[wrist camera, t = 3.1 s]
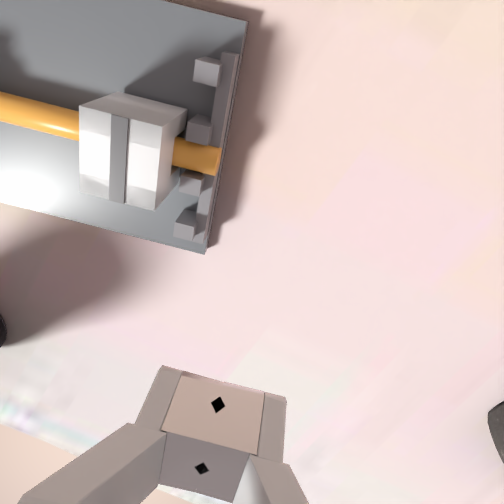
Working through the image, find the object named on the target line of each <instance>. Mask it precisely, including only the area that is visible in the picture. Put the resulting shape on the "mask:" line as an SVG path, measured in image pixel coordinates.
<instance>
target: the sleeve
mask: <svg viewBox="0 0 504 504" xmlns="http://www.w3.org/2000/svg"><path fill="white" fill-rule="evenodd" d="M187 111H188V109H185V108H181V107H177V106H173V105H169V104H165V103H162V102H158V101H154V100H150V99H146V98H142V97H138V96H134V95H130V94H126V93H122V92H115V93H112V94H110V95H107V96H104V97H101V98H99V99H96V100H93V101H90V102H87V103H85V104H82V105H79V163H80V192H82V193H86V194H90V195H93V196H97V197H101V198H105V199H109V201H113V202H117V203H121V204H124V203H125V204H128V205H132V206H136V207H140V208H144V209H148V210H152V211H155V210H156V208H157V207H158V206H159V205H160V204H161V203H162V201H163V200H164V199H165V198H166V197H167V195H168V194H169V193H170V192H171V191H172V190H173V188H174V187H175V186H176V185H177V184H178V182H179V175H180V167H177V166H173V165H172V157H173V148H174V139H175V137H176V136H177V135H178V134H180V133H181V132H182V131H183V130H184V129H185V127H186V119H187Z"/></svg>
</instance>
